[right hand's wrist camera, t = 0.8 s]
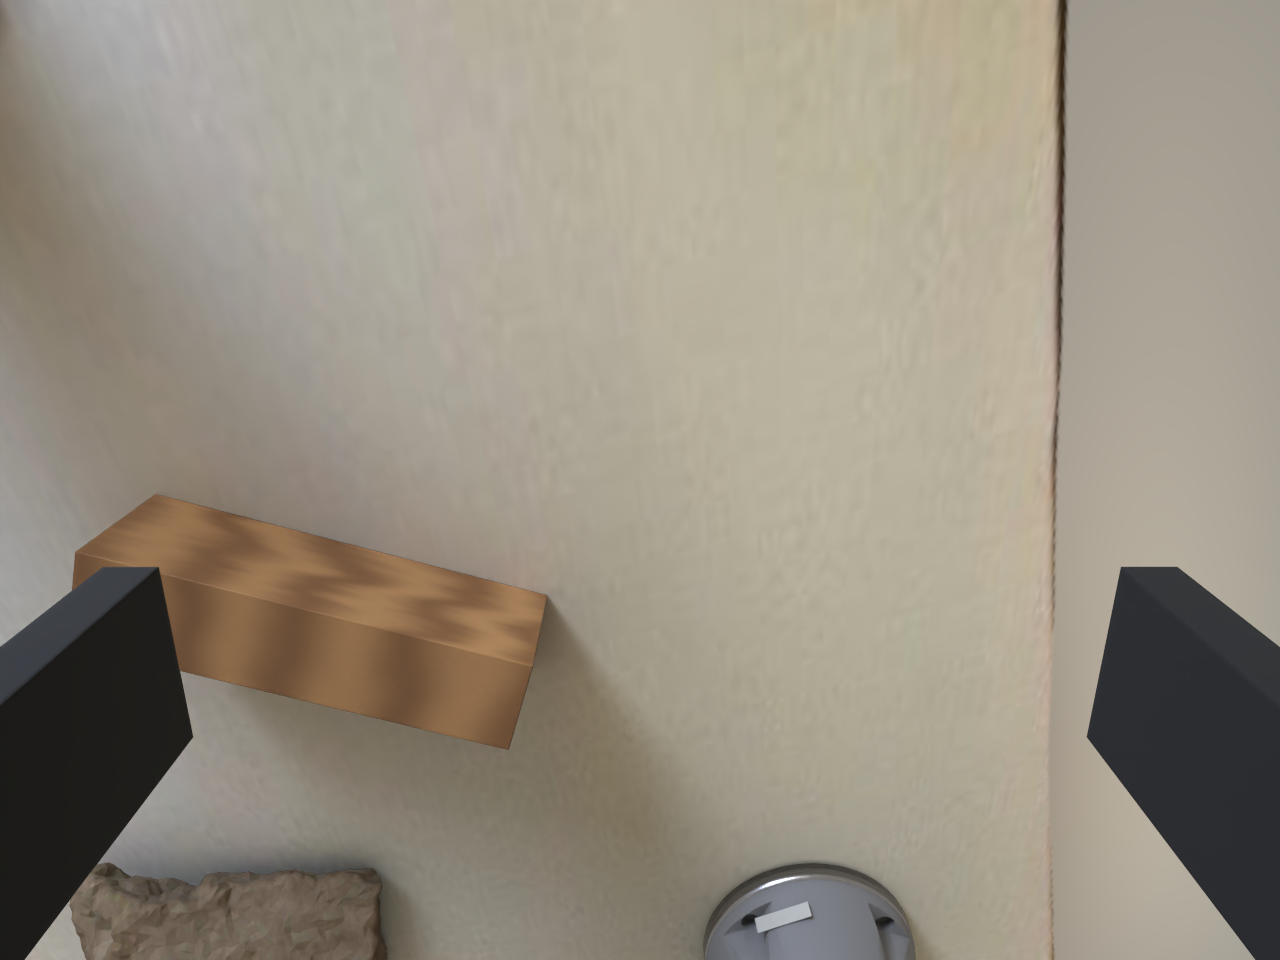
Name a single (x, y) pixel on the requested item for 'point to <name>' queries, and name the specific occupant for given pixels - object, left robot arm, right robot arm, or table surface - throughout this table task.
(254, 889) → the stone
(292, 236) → the table surface
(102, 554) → the box
